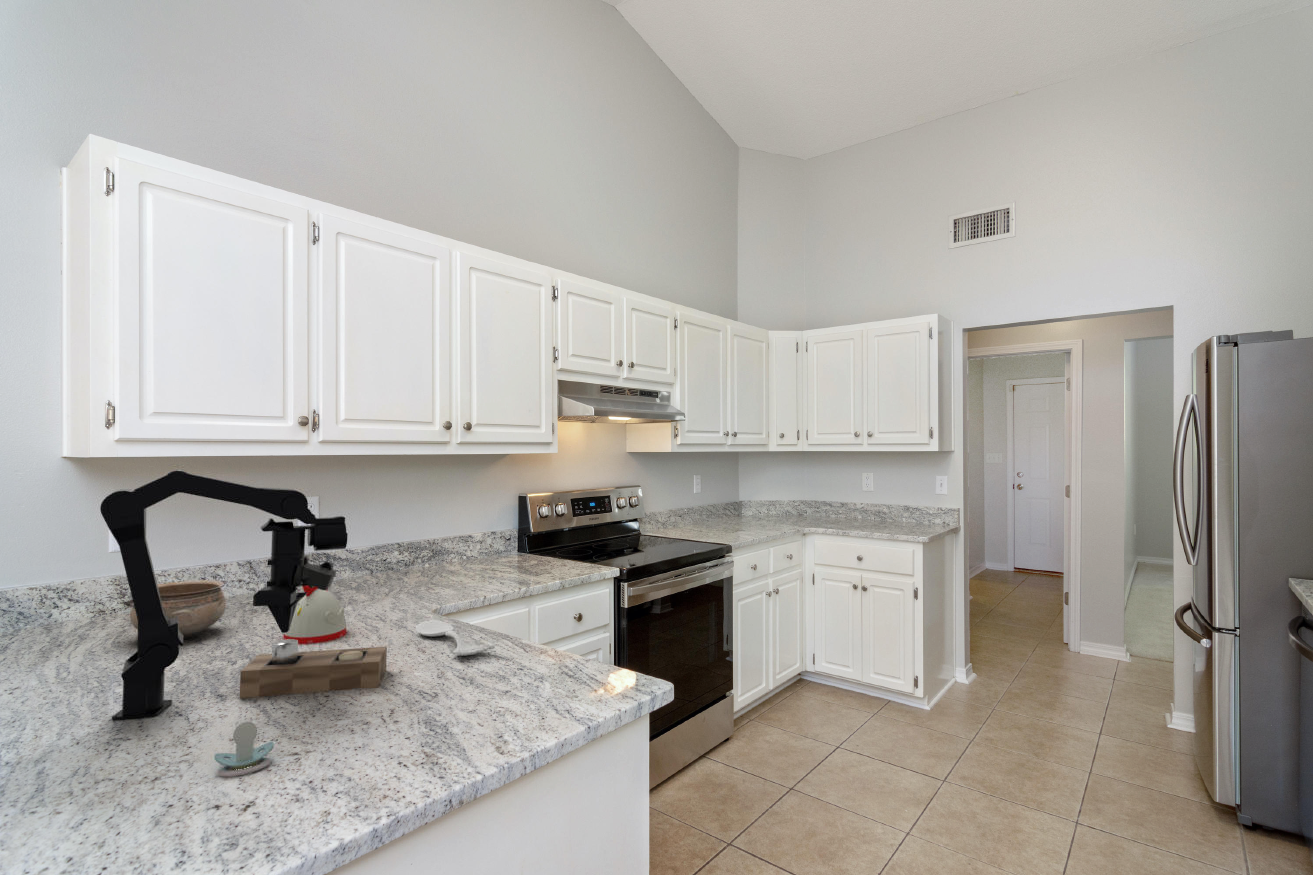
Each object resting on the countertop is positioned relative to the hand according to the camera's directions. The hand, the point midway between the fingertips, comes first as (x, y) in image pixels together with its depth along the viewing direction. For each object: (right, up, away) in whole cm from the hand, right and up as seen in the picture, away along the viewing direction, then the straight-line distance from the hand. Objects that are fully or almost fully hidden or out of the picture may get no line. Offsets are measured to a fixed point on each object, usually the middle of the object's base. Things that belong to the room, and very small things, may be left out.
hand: (285, 632), depth 124 cm
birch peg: (+11, -11, +3) cm, 16 cm away
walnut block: (+6, -11, +1) cm, 12 cm away
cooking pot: (-45, -11, +31) cm, 56 cm away
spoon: (+23, -12, +28) cm, 39 cm away
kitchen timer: (-12, -12, +34) cm, 38 cm away
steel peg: (0, -7, 0) cm, 7 cm away
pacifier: (+13, -10, -32) cm, 36 cm away
